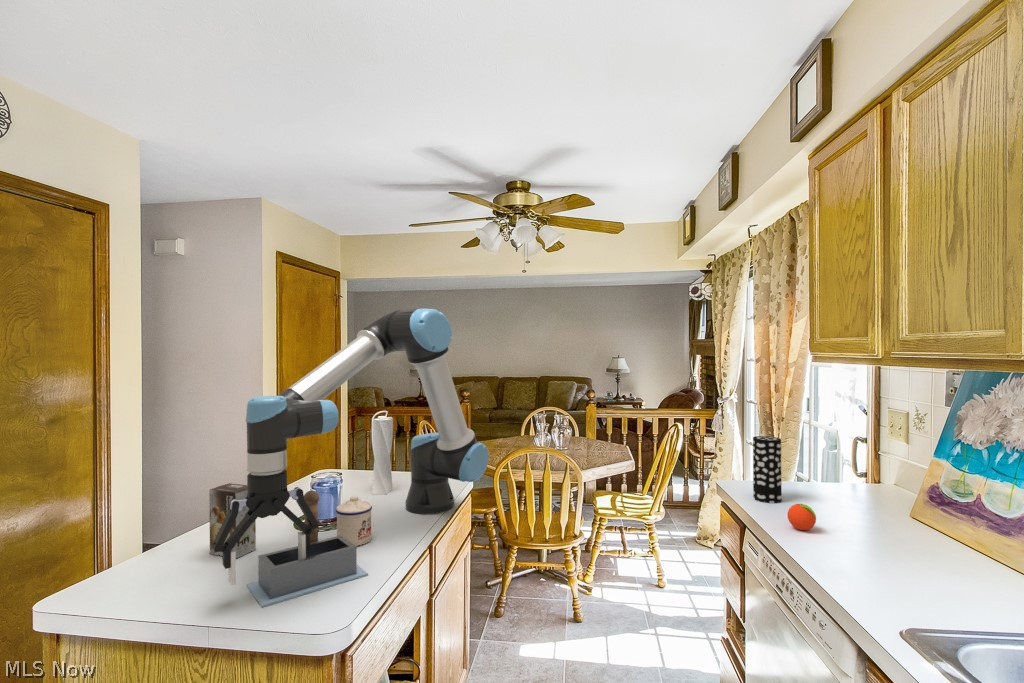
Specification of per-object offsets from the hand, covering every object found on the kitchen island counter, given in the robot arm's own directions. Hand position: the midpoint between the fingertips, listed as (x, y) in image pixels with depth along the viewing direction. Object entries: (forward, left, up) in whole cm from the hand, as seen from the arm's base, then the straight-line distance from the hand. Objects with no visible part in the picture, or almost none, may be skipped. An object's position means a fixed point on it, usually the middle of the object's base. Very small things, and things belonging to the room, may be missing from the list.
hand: (268, 572), depth 108 cm
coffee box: (+1, -28, -4) cm, 29 cm away
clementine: (-122, +58, -4) cm, 135 cm away
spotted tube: (-143, +39, -4) cm, 148 cm away
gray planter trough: (-8, 0, -4) cm, 9 cm away
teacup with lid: (-26, -16, -4) cm, 31 cm away
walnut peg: (-13, -11, -4) cm, 17 cm away
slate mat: (-8, 0, -4) cm, 9 cm away
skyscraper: (-51, -52, -4) cm, 73 cm away
